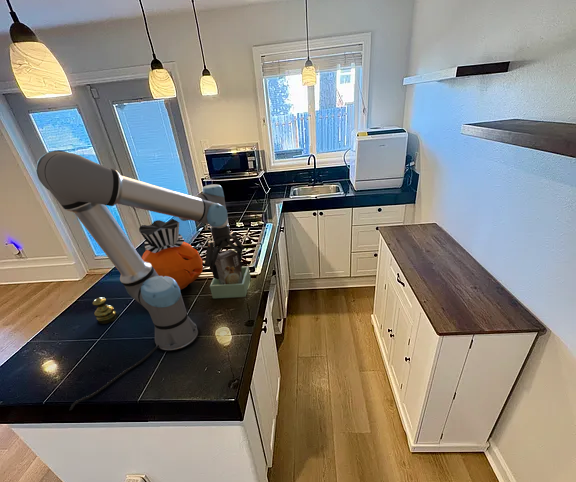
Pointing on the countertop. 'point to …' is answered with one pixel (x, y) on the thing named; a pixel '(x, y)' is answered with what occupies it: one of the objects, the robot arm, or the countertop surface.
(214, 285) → the tote
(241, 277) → the coffee box
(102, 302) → the brass knobbed piece
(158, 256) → the jack-o'-lantern
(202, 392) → the countertop surface
